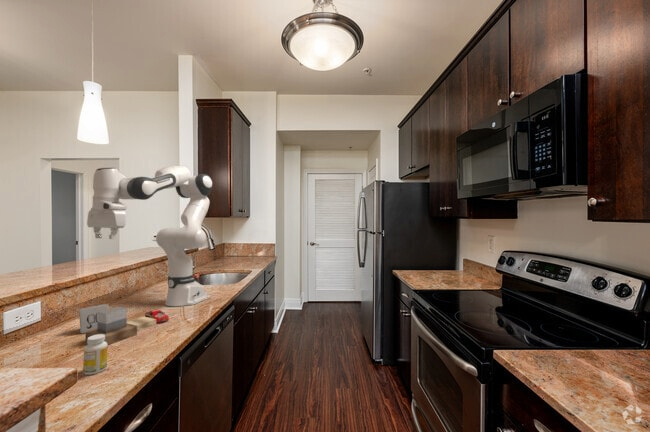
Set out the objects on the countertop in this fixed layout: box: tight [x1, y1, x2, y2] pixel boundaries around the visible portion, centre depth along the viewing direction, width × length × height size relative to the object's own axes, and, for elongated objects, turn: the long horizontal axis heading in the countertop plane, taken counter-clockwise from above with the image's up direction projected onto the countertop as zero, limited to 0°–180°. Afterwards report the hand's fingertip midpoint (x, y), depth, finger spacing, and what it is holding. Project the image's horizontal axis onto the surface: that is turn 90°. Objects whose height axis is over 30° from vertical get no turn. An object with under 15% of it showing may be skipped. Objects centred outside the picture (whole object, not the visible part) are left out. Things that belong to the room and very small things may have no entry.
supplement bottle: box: [82, 334, 109, 376], centre depth 83 cm, size 5×5×10 cm
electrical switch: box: [78, 303, 110, 335], centre depth 113 cm, size 9×5×9 cm, turn 141°
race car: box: [144, 309, 170, 325], centre depth 124 cm, size 13×5×4 cm, turn 54°
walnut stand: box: [84, 324, 138, 346], centre depth 105 cm, size 11×11×3 cm
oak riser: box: [127, 316, 157, 332], centre depth 117 cm, size 8×8×2 cm
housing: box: [97, 306, 128, 334], centre depth 105 cm, size 5×7×7 cm
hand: (105, 238), depth 120 cm, fingers open, 8 cm apart
